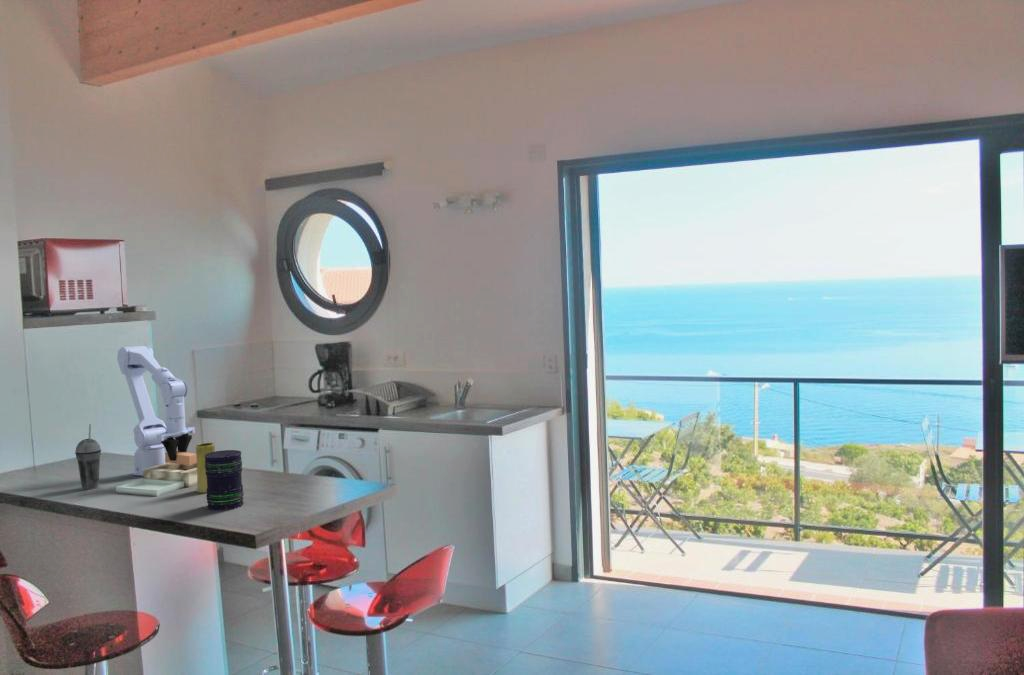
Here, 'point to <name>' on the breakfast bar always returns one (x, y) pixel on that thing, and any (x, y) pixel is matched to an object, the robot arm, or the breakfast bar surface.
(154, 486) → the tray
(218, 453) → the storage jar
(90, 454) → the beverage cup
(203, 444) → the vase
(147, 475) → the block
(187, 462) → the slab
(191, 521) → the breakfast bar surface
